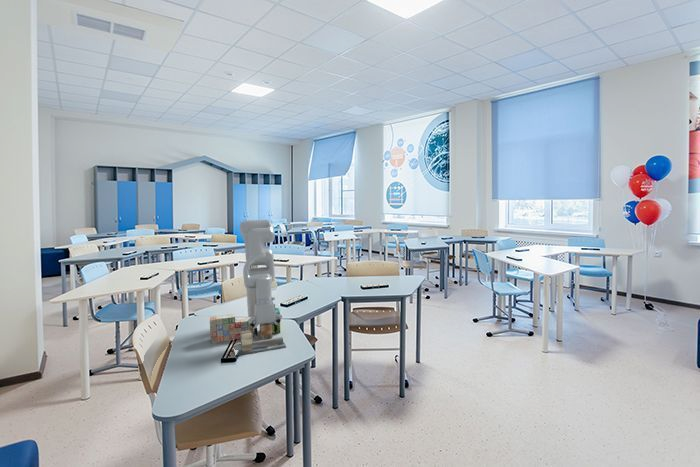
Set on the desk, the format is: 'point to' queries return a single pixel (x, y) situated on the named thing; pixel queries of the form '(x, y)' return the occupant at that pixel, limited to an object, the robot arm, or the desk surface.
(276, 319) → the chalk box
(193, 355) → the desk surface
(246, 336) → the rail fixture
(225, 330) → the stack of blocks
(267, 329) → the block
